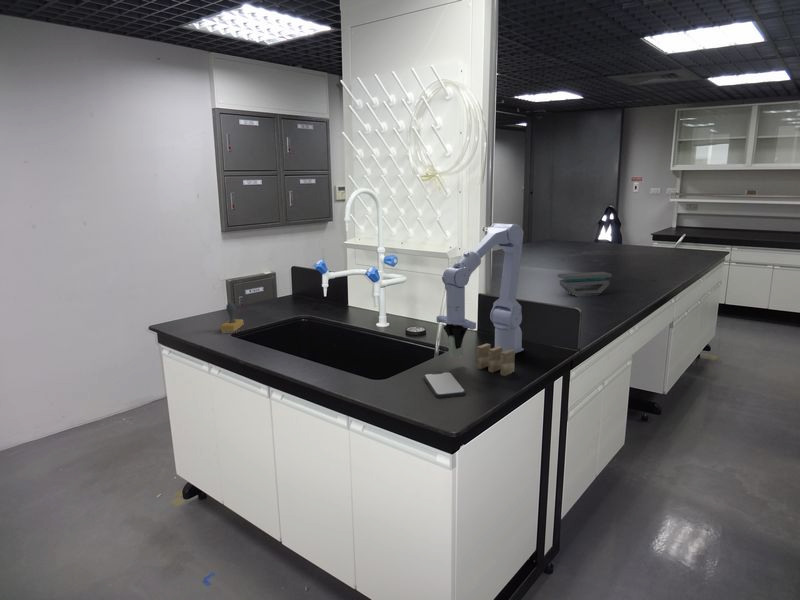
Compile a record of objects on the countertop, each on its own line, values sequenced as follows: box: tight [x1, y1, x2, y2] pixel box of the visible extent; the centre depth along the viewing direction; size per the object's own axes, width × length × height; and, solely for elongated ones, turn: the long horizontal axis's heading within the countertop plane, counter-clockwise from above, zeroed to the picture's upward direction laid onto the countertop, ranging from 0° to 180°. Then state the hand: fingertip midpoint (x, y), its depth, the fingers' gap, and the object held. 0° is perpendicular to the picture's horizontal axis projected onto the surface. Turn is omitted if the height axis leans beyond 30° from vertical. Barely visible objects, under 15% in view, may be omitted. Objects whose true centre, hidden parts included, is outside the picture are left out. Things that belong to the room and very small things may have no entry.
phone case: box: [423, 371, 467, 399], centre depth 151 cm, size 9×2×16 cm
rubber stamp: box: [220, 302, 245, 332], centre depth 217 cm, size 10×6×12 cm, turn 175°
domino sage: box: [448, 335, 464, 359], centre depth 166 cm, size 2×5×7 cm, turn 135°
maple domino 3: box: [500, 349, 516, 377], centre depth 160 cm, size 2×5×7 cm, turn 134°
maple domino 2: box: [487, 346, 502, 373], centre depth 163 cm, size 2×5×7 cm, turn 134°
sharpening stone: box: [557, 271, 613, 294], centre depth 267 cm, size 25×8×11 cm, turn 98°
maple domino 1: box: [476, 343, 492, 370], centre depth 166 cm, size 2×5×7 cm, turn 134°
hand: (455, 347), depth 166 cm, fingers closed on domino sage, 1 cm apart
